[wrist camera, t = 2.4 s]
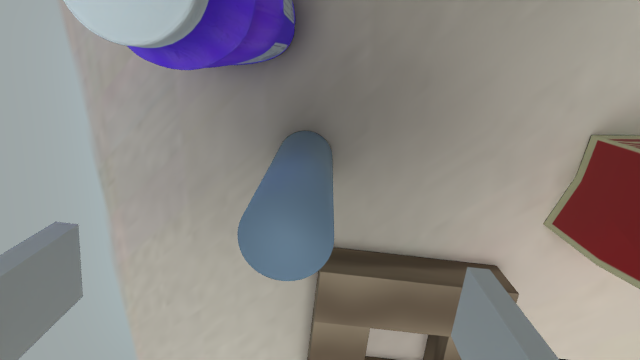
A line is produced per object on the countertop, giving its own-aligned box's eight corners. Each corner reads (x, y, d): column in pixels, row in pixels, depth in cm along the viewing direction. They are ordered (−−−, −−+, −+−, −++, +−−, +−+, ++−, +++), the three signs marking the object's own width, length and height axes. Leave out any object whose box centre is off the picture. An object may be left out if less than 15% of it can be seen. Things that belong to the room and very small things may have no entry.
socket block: (321, 246, 32) (320, 271, 29) (496, 266, 33) (518, 293, 29) (303, 388, 36) (300, 427, 33) (459, 405, 37) (474, 446, 33)
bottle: (294, -32, 27) (234, -177, 10) (303, 59, 28) (264, 63, 12) (184, -21, 27) (-48, -142, 10) (199, 68, 29) (19, 86, 12)
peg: (280, 127, 30) (240, 187, 16) (335, 134, 30) (339, 198, 16) (276, 180, 31) (235, 275, 18) (328, 186, 31) (328, 285, 18)
